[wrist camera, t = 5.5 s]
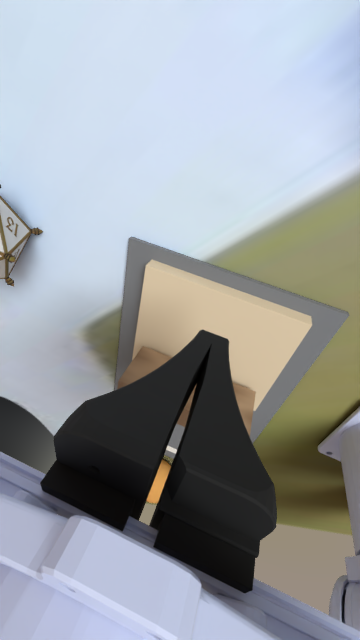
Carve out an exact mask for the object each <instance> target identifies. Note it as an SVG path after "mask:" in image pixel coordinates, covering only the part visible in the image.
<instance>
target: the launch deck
mask: <svg viewBox="0 0 360 640" xmlns="http://www.w3.org/2000/svg"><path fill="white" fill-rule="evenodd" d="M348 316H349V313H348V312H346V311H343V310H340V309H337V308H335V307H332V306H329V305H326V304H323V303H320V302H317V301H314V300H312V299H309V298H306V297H303V296H300V295H297V294H294V293H292V292H289V291H286V290H283V289H280V288H277V287H274V286H271V285H269V284H266V283H263V282H260V281H257V280H254V279H251V278H249V277H246V276H243V275H240V274H237V273H234V272H231V271H228V270H226V269H223V268H220V267H217V266H214V265H211V264H208V263H206V262H203V261H200V260H197V259H194V258H191V257H188V256H186V255H183V254H180V253H177V252H174V251H171V250H168V249H165V248H163V247H160V246H157V245H154V244H151V243H148V242H145V241H143V240H140V239H137V238H134V237H130V238H129V245H128V255H127V266H126V276H125V286H124V296H123V306H122V317H121V327H120V337H119V347H118V358H117V368H116V378H115V388H114V391H115V390H117V388H118V381H119V379H120V378H121V376H122V375H123V373H124V372H125V371H126V369H127V368H128V366H129V365H130V363H131V362H132V361H133V359H134V358H135V356H136V355H137V353H138V352H139V351H140V349H141V348H142V346H144V347H147V348H149V349H152V350H154V351H157V352H159V353H162V354H164V355H167V356H169V357H171V358H172V357H174V356H175V355H176V354H177V353H179V352H180V351H181V350H182V349H183V348H184V347H185V346H186V345H187V344H188V343H189V342H190V341H191V340H192V339H193V338H194V337H195V336H196V335H197V334H198V332H199V331H200V330H205V331H208V332H211V333H213V334H216V335H219V336H221V337H224V338H227V339H228V340H229V362H230V370H231V377H232V382H233V383H236V384H238V385H240V386H243V387H245V388H248V389H250V390H253V391H255V392H256V394H255V402H254V409H253V416H252V424H251V431H250V439H251V441H252V444H253V442H254V441H255V440H256V438H257V437H258V436H259V434H260V433H261V432H262V431H263V429H264V428H265V427H266V425H267V424H268V423H269V421H270V420H271V419H272V417H273V416H274V415H275V413H276V412H277V411H278V409H279V408H280V407H281V405H282V404H283V403H284V401H285V400H286V399H287V397H288V396H289V395H290V393H291V392H292V391H293V389H294V388H295V387H296V385H297V384H298V383H299V381H300V380H301V379H302V377H303V376H304V375H305V373H306V372H307V371H308V369H309V368H310V367H311V365H312V364H313V363H314V361H315V360H316V359H317V357H318V356H319V355H320V353H321V352H322V351H323V349H324V348H325V347H326V345H327V344H328V343H329V341H330V340H331V339H332V338H333V336H334V335H335V334H336V332H337V331H338V330H339V328H340V327H341V326H342V324H343V323H344V322H345V320H346V319H347V318H348ZM184 429H185V427H183V426H181V425H179V424H176V426H175V428H174V431H173V433H172V436H171V438H170V441H169V443H168V446H167V449H166V451H165V454H164V455H166V456H168V457H170V458H173V459H174V457H175V454H176V452H177V449H178V446H179V443H180V441H181V438H182V435H183V432H184Z"/></svg>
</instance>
